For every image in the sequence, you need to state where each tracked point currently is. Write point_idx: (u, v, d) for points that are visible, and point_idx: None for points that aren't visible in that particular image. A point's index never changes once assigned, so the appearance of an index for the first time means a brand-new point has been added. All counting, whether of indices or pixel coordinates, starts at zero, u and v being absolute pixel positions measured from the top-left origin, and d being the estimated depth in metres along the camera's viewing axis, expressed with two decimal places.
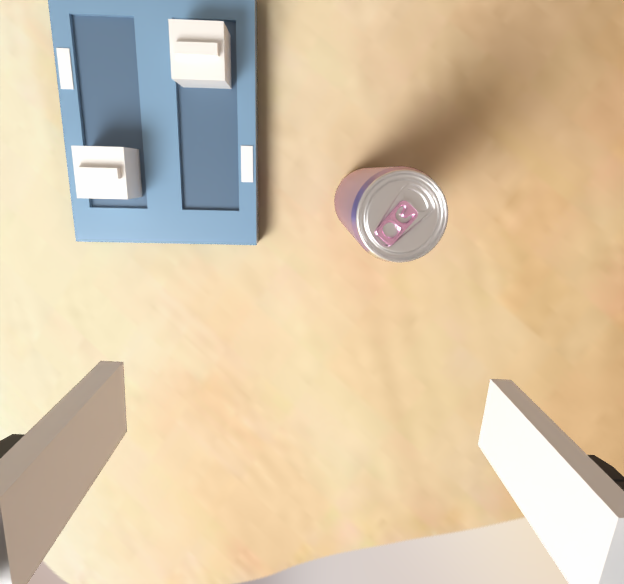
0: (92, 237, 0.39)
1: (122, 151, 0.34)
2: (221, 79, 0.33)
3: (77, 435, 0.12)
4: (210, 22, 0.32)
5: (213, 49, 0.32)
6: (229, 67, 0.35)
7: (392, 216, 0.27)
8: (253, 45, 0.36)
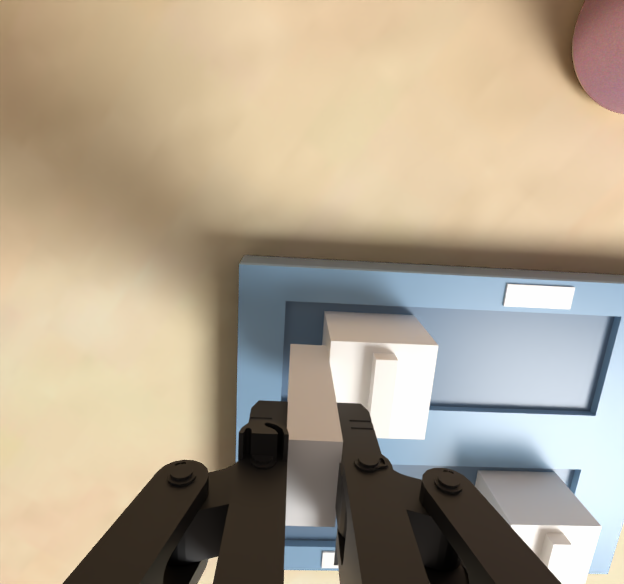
0: (607, 551, 0.23)
1: (518, 526, 0.19)
2: (435, 351, 0.16)
3: None
4: (332, 364, 0.16)
5: (386, 367, 0.16)
6: (386, 320, 0.19)
7: None
8: (329, 271, 0.19)
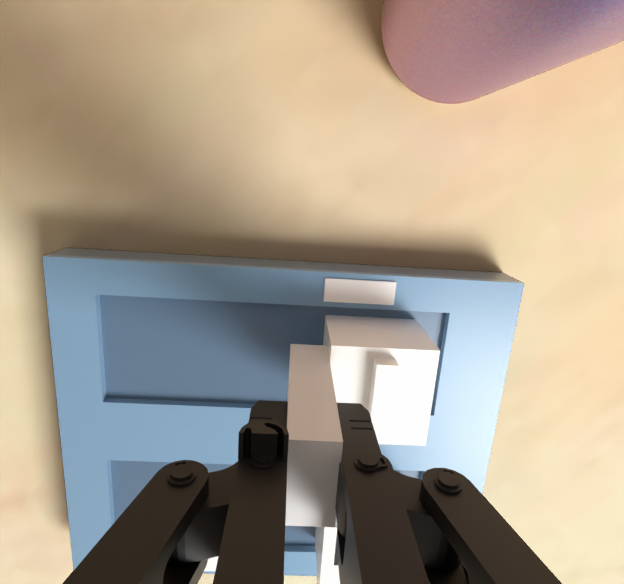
0: None
1: (332, 529, 0.18)
2: (437, 357, 0.16)
3: None
4: (332, 369, 0.16)
5: (387, 373, 0.16)
6: (387, 325, 0.18)
7: None
8: (137, 264, 0.18)
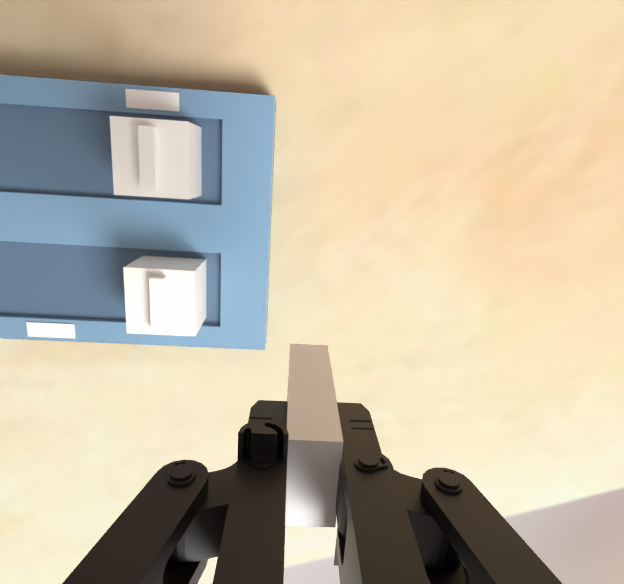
0: (259, 328, 0.30)
1: (129, 269, 0.25)
2: (186, 126, 0.23)
3: None
4: (113, 135, 0.23)
5: (146, 132, 0.22)
6: None
7: None
8: None
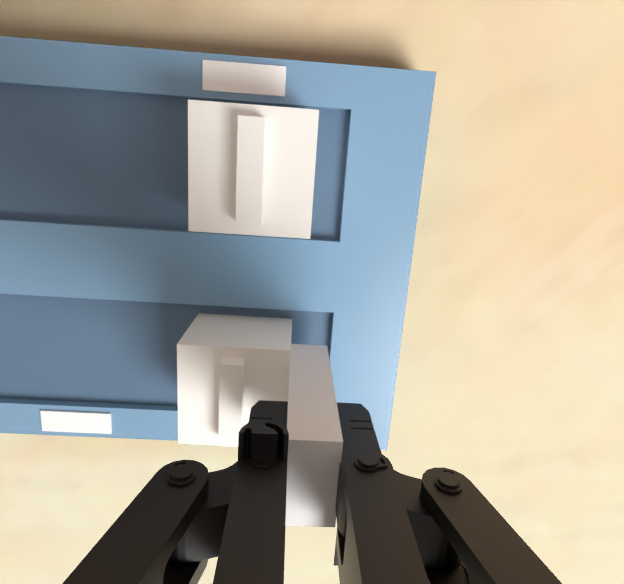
0: (381, 420, 0.20)
1: (186, 347, 0.15)
2: (316, 118, 0.14)
3: None
4: (192, 133, 0.14)
5: (251, 127, 0.13)
6: None
7: None
8: None
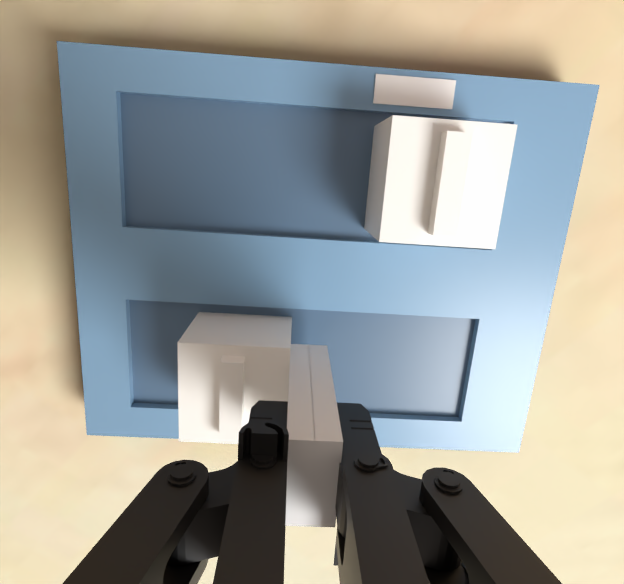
0: (516, 424, 0.20)
1: (187, 345, 0.16)
2: (514, 132, 0.14)
3: None
4: (392, 147, 0.14)
5: (459, 142, 0.13)
6: None
7: None
8: (164, 53, 0.16)
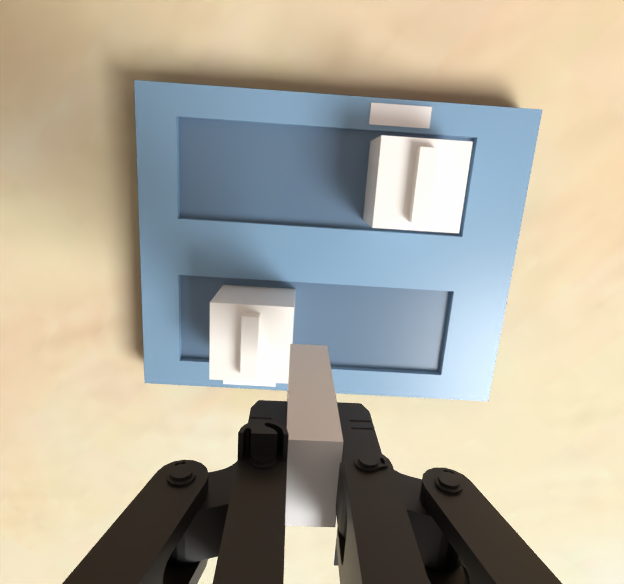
0: (485, 377, 0.25)
1: (216, 304, 0.21)
2: (470, 147, 0.19)
3: None
4: (381, 158, 0.19)
5: (429, 154, 0.19)
6: None
7: None
8: (212, 88, 0.21)
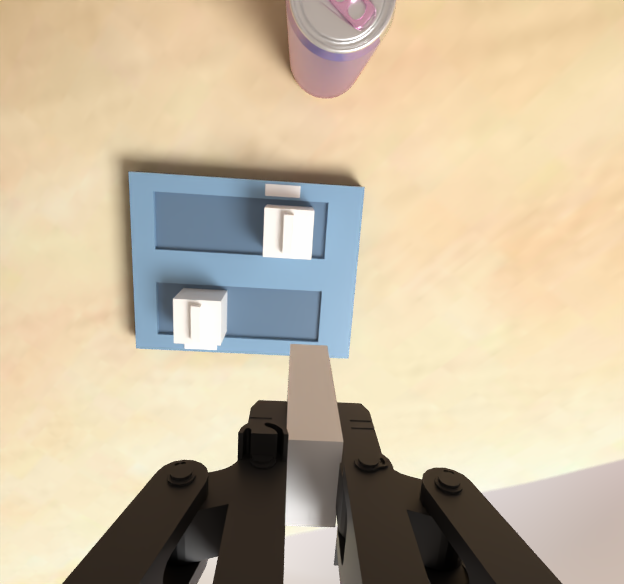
0: (345, 343, 0.42)
1: (176, 300, 0.37)
2: (313, 213, 0.35)
3: None
4: (265, 219, 0.35)
5: (289, 218, 0.35)
6: (296, 207, 0.38)
7: (341, 6, 0.23)
8: (174, 176, 0.37)
